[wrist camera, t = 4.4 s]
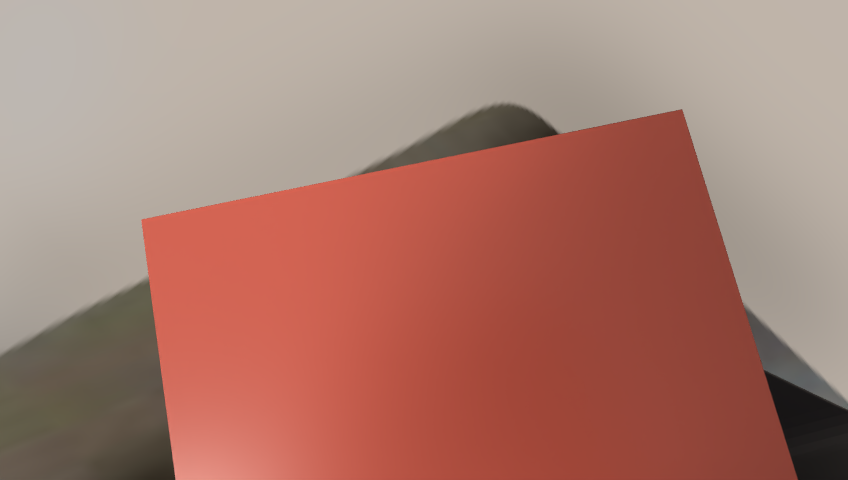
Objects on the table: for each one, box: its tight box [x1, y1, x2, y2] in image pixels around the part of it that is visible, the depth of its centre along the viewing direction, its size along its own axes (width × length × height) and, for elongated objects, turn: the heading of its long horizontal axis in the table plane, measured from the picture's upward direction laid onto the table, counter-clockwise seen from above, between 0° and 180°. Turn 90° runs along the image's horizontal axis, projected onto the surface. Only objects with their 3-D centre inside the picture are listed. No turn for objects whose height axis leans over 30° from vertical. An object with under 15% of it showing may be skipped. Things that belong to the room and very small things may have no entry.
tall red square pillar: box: [142, 110, 798, 480], centre depth 9 cm, size 4×4×13 cm
